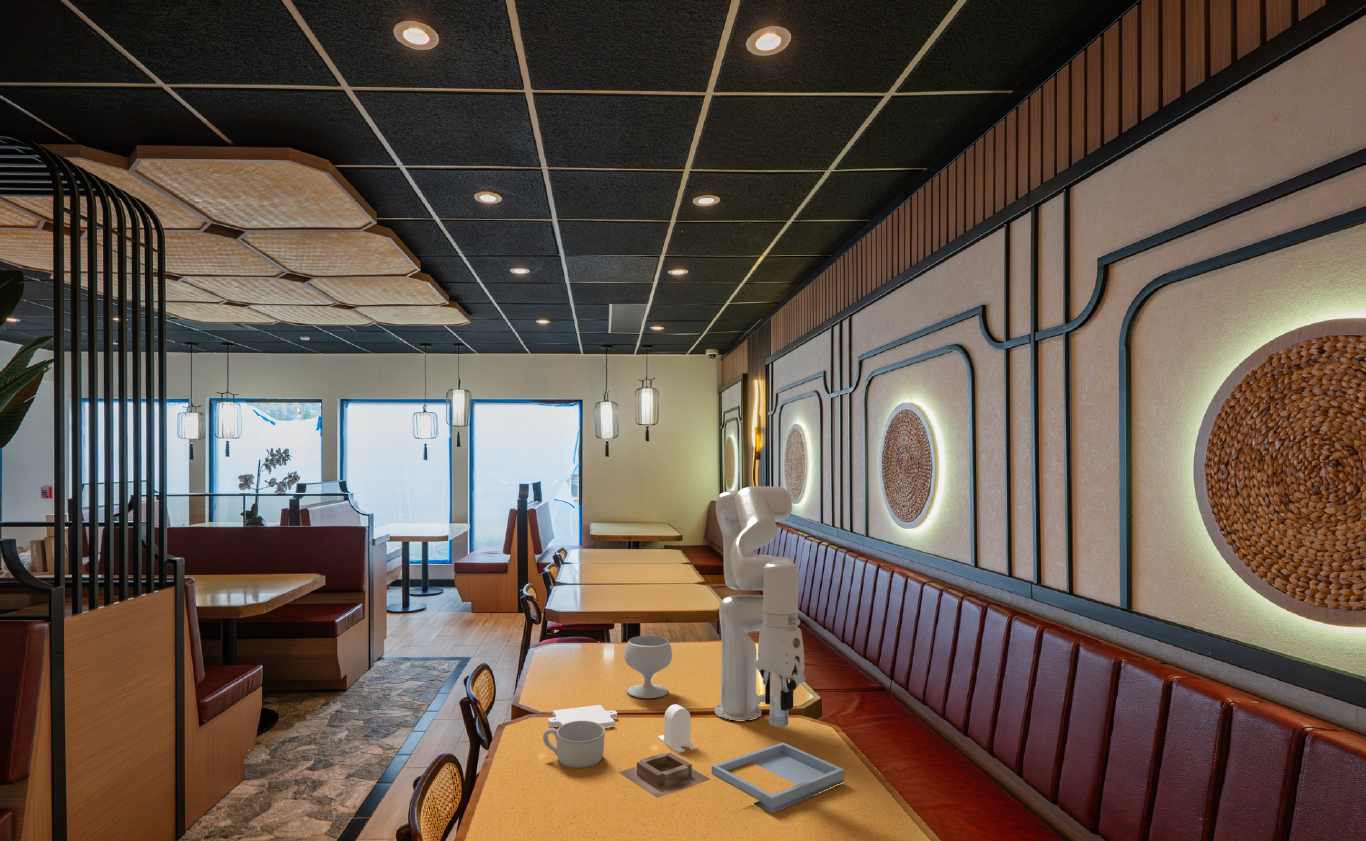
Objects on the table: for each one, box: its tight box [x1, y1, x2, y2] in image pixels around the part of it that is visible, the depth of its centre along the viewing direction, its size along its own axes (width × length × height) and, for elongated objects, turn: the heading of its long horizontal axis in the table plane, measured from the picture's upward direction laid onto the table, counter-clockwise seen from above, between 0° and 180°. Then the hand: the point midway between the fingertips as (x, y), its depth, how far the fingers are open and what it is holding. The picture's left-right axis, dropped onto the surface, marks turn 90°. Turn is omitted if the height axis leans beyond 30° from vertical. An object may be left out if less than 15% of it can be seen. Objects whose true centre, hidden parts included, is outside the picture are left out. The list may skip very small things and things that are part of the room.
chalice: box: [623, 635, 673, 699], centre depth 212 cm, size 14×14×15 cm
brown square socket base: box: [618, 752, 711, 798], centre depth 154 cm, size 14×14×4 cm
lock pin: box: [768, 672, 790, 728], centre depth 156 cm, size 4×4×12 cm
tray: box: [711, 741, 845, 815], centre depth 156 cm, size 22×18×3 cm
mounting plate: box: [547, 704, 618, 728], centre depth 188 cm, size 18×13×2 cm
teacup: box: [542, 721, 606, 769], centre depth 162 cm, size 14×11×8 cm
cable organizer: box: [657, 703, 698, 754], centre depth 172 cm, size 5×10×10 cm, turn 31°
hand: (779, 705), depth 156 cm, fingers closed on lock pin, 4 cm apart
